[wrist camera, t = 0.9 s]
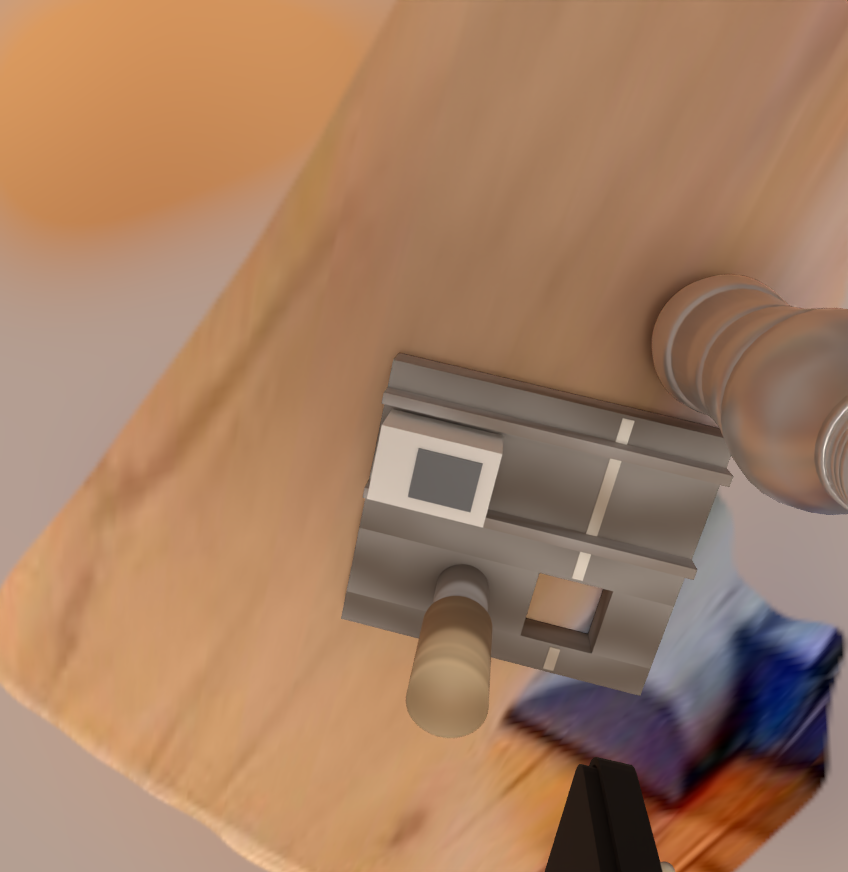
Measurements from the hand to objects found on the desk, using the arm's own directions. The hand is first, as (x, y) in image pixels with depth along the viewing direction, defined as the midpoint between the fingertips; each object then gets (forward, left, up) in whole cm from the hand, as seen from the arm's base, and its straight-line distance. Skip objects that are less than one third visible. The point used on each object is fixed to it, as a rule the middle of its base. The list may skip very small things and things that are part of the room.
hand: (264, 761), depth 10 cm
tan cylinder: (+12, +4, -27) cm, 30 cm away
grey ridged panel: (+8, +6, -29) cm, 31 cm away
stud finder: (+4, +1, -27) cm, 27 cm away
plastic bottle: (-5, +13, -29) cm, 32 cm away
